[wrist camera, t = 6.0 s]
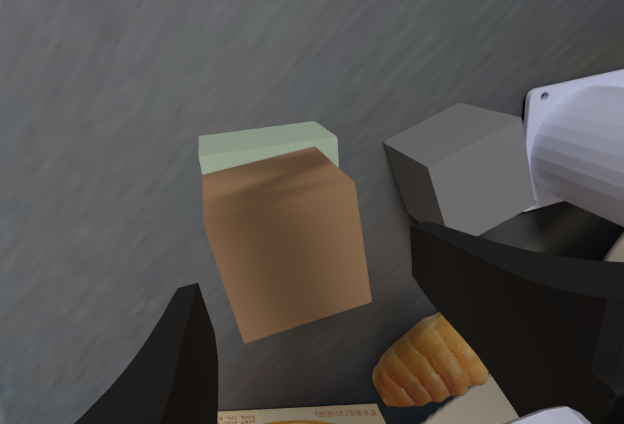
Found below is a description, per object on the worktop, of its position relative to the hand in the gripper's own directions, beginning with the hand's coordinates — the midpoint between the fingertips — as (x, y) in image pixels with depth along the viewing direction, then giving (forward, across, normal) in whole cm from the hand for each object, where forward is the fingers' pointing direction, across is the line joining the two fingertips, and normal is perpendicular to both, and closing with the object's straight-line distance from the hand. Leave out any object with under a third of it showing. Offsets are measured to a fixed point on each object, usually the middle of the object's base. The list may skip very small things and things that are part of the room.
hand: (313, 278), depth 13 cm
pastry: (+10, -10, +16) cm, 21 cm away
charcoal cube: (+10, -10, +1) cm, 14 cm away
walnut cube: (+6, 0, 0) cm, 6 cm away
